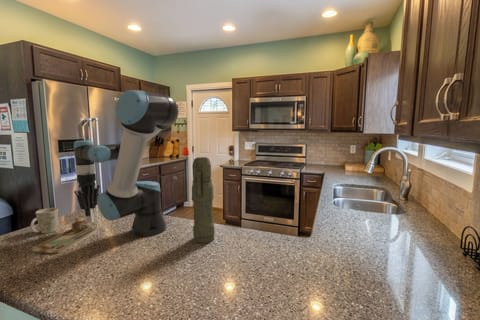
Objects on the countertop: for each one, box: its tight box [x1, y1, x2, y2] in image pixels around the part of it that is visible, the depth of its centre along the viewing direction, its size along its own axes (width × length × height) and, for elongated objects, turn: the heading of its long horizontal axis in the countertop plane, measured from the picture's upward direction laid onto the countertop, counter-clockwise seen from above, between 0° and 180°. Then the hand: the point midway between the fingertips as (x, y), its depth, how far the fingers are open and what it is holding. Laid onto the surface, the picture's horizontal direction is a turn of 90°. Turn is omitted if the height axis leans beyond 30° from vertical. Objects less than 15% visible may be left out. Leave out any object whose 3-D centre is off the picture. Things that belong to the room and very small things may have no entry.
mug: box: [29, 207, 59, 234], centre depth 113 cm, size 8×13×10 cm, turn 174°
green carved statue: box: [191, 156, 216, 245], centre depth 102 cm, size 9×12×35 cm
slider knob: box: [71, 217, 92, 233], centre depth 111 cm, size 7×4×6 cm, turn 80°
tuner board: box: [31, 226, 98, 254], centre depth 105 cm, size 12×20×2 cm, turn 170°
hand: (90, 221), depth 117 cm, fingers closed
